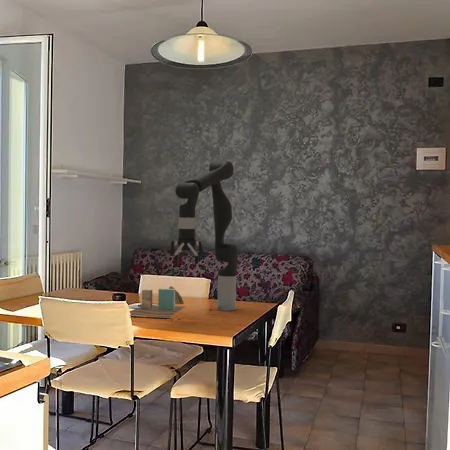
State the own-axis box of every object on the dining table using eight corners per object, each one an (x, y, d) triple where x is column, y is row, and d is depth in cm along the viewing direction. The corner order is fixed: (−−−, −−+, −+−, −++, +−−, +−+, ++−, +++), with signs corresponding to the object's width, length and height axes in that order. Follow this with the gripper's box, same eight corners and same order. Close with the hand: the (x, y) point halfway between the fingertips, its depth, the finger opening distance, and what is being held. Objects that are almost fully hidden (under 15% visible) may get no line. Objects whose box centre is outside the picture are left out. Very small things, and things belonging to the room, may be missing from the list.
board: (144, 306, 274) (144, 304, 274) (185, 309, 269) (185, 306, 269) (123, 316, 246) (123, 314, 246) (168, 319, 242) (168, 316, 242)
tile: (159, 308, 263) (159, 288, 262) (174, 309, 261) (175, 289, 261) (157, 309, 261) (158, 288, 260) (173, 310, 259) (173, 289, 259)
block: (144, 307, 265) (144, 289, 265) (152, 307, 264) (152, 289, 264) (141, 308, 261) (142, 290, 261) (149, 309, 260) (149, 290, 260)
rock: (189, 301, 280) (176, 296, 287) (183, 289, 276) (170, 284, 282) (176, 315, 275) (163, 310, 281) (170, 303, 270) (157, 298, 277)
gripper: (204, 227, 239) (204, 263, 240) (173, 227, 242) (173, 262, 242) (200, 228, 232) (200, 265, 233) (169, 227, 235) (168, 264, 235)
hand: (186, 264), depth 238 cm, fingers open, 8 cm apart
